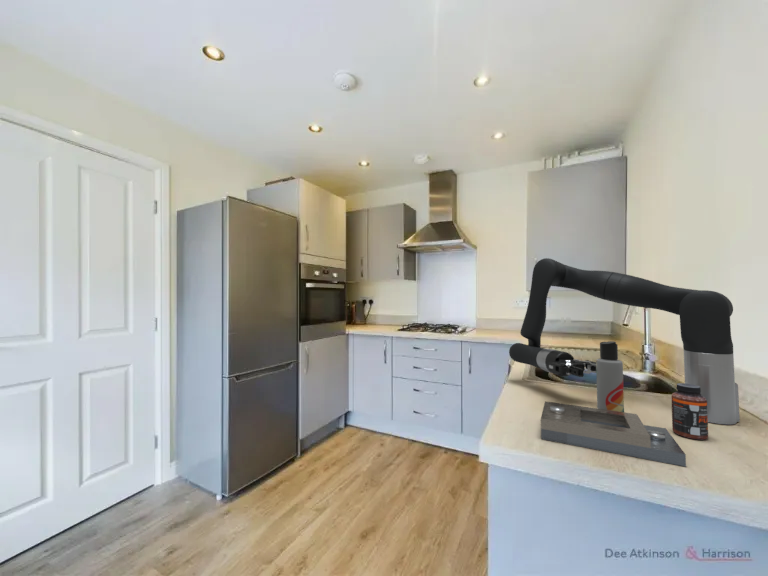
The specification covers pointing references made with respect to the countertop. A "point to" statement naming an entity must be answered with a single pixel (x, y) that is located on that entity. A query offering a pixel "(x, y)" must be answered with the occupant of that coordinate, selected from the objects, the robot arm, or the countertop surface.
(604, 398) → the lotion bottle
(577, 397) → the countertop surface
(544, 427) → the bolted steel plate
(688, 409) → the supplement bottle
